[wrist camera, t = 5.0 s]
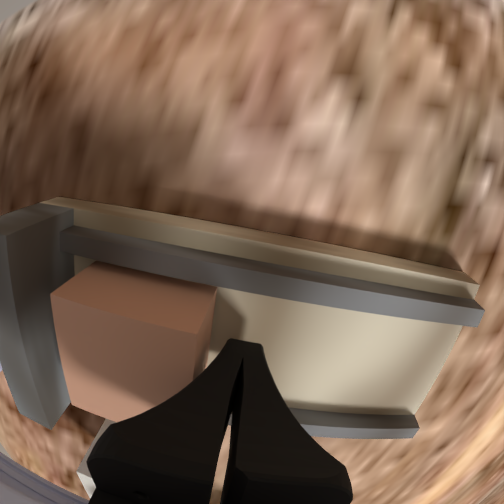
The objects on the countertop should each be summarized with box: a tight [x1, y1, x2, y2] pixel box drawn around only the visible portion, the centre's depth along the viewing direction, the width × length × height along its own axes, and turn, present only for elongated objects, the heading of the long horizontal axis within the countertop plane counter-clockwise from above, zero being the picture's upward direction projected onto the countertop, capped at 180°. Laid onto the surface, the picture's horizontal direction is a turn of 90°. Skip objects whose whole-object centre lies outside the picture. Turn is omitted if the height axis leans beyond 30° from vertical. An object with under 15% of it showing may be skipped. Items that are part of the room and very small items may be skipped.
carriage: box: [50, 261, 217, 422], centre depth 11 cm, size 5×5×3 cm
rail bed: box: [0, 197, 485, 439], centre depth 11 cm, size 19×9×6 cm, turn 80°
